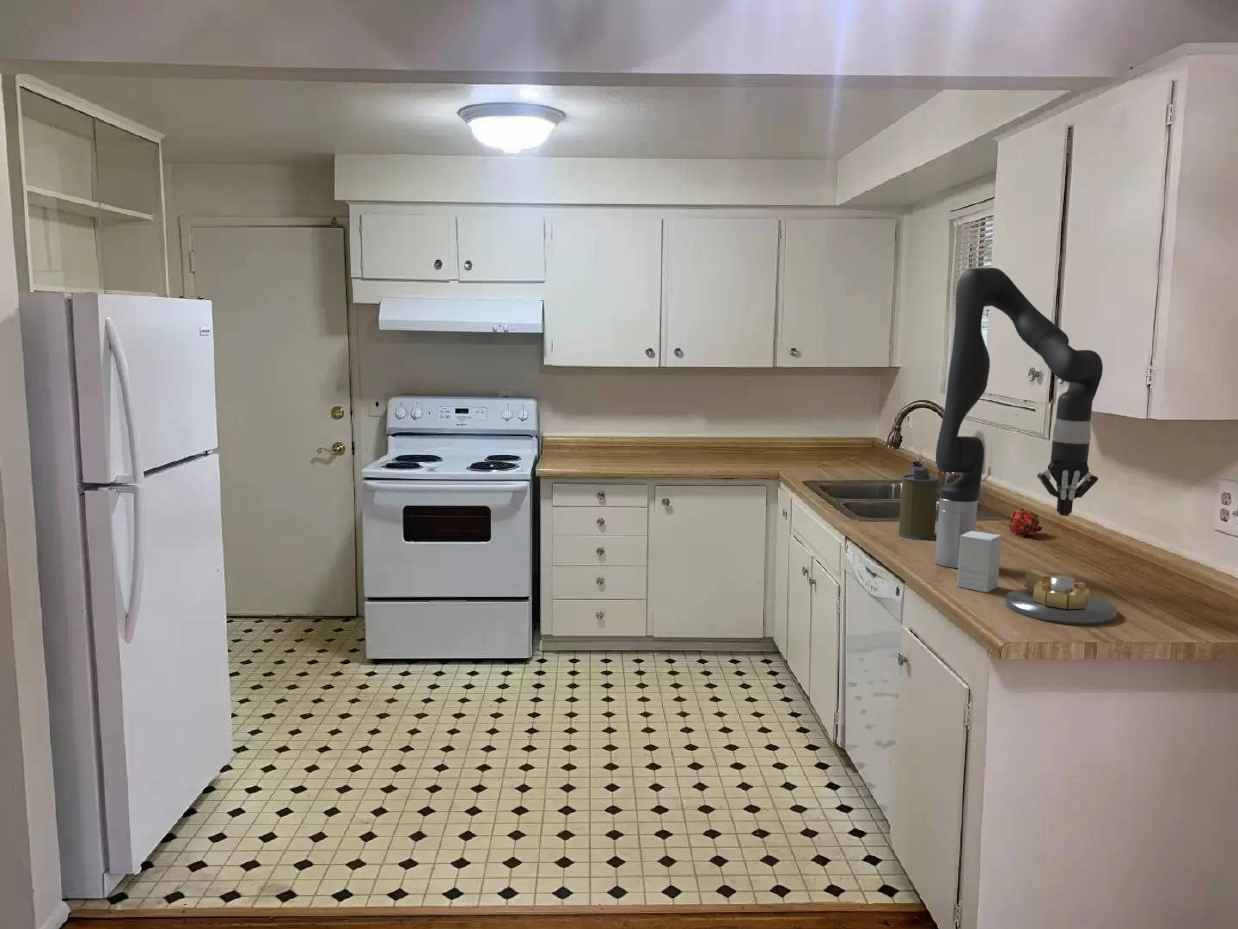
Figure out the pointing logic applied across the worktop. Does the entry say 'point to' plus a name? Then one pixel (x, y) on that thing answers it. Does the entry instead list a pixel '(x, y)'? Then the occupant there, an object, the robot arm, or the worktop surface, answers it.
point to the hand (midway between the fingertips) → (1063, 515)
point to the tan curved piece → (1056, 592)
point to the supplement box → (979, 561)
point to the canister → (918, 505)
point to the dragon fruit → (1024, 522)
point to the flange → (1091, 615)
